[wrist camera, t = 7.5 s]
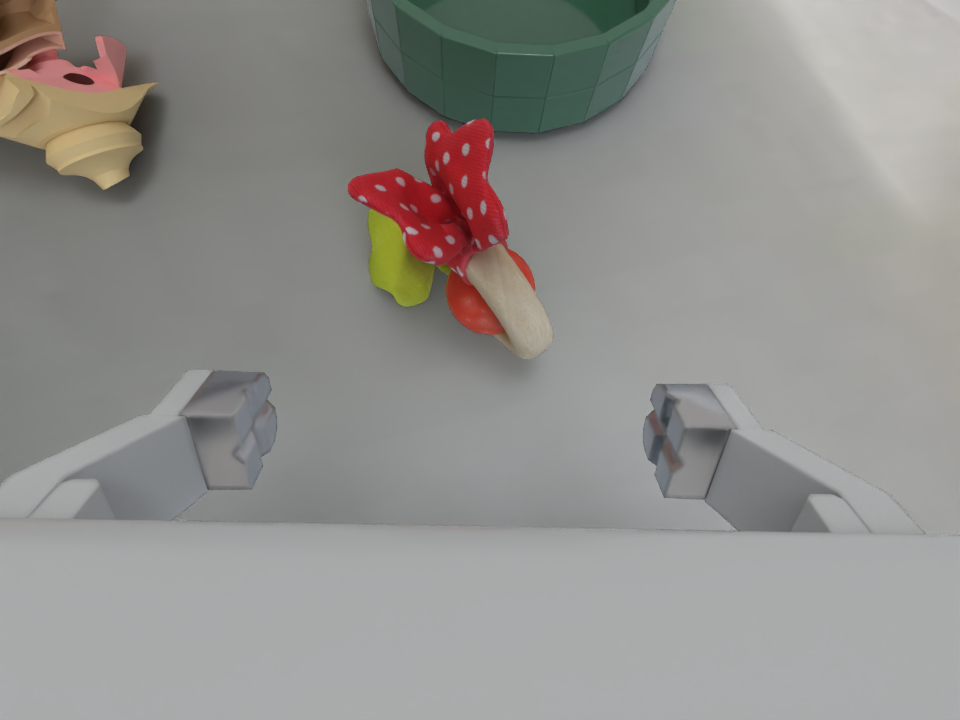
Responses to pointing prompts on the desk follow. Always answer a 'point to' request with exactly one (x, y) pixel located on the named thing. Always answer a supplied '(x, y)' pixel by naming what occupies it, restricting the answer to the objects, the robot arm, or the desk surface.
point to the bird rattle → (453, 239)
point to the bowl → (518, 55)
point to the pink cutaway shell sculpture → (66, 96)
